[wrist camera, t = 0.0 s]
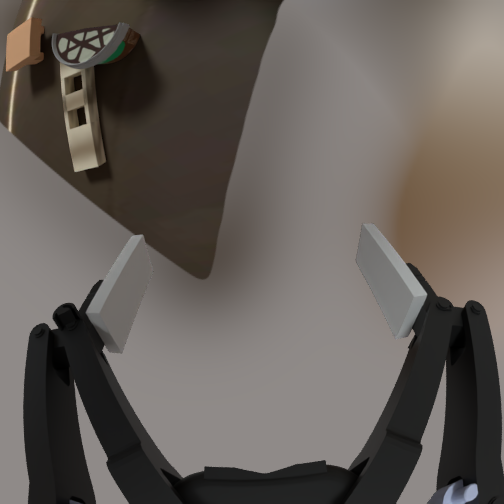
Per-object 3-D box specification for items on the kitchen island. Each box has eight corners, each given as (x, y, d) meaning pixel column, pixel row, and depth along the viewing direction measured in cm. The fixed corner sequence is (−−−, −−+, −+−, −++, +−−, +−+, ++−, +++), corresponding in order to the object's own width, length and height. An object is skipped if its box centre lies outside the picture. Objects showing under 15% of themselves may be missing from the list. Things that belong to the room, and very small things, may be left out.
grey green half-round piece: (78, 72, 30) (42, 73, 21) (84, 39, 27) (50, 34, 18) (141, 70, 32) (112, 65, 23) (149, 35, 28) (123, 21, 20)
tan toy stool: (28, 35, 22) (7, 34, 17) (52, 21, 22) (31, 17, 17) (28, 69, 27) (6, 71, 21) (51, 56, 26) (29, 55, 21)
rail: (69, 42, 26) (59, 41, 23) (93, 32, 26) (83, 29, 23) (83, 166, 39) (74, 172, 36) (106, 161, 39) (98, 166, 36)
